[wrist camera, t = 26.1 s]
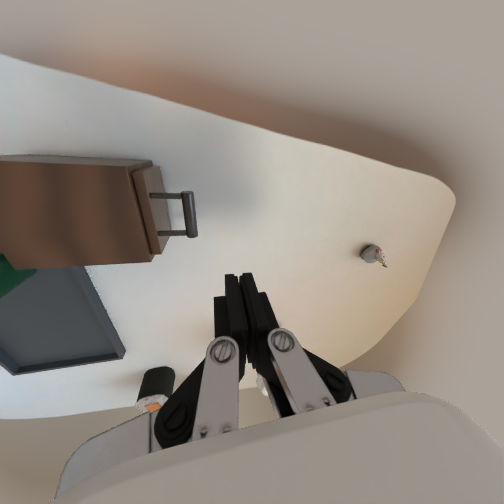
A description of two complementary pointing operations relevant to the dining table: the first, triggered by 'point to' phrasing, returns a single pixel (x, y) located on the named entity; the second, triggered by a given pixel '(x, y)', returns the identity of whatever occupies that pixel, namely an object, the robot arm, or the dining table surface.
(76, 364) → the tray
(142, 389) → the sushi
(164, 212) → the drawer
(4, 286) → the tin
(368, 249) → the figurine
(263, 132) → the dining table surface
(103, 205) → the cabinet
